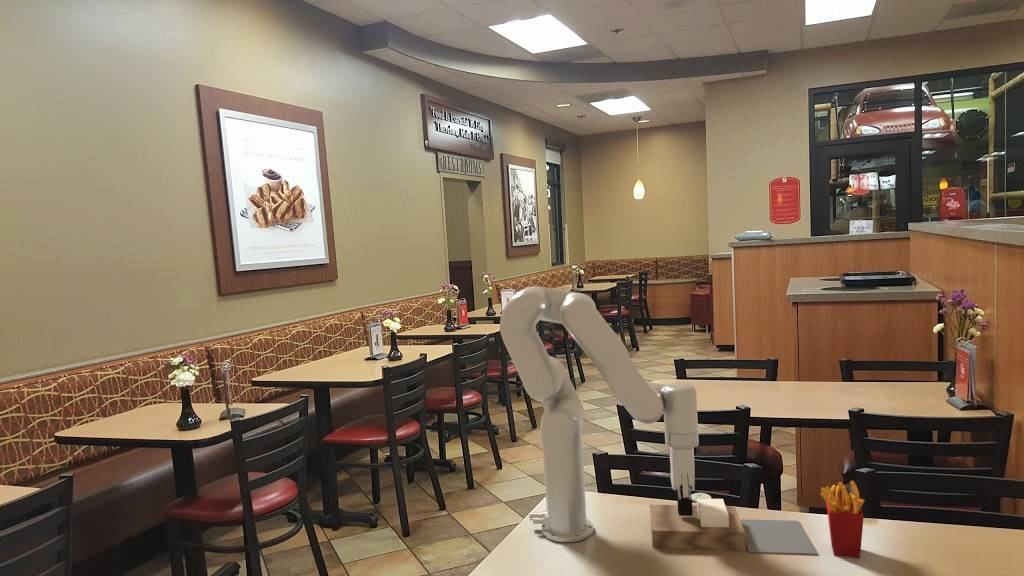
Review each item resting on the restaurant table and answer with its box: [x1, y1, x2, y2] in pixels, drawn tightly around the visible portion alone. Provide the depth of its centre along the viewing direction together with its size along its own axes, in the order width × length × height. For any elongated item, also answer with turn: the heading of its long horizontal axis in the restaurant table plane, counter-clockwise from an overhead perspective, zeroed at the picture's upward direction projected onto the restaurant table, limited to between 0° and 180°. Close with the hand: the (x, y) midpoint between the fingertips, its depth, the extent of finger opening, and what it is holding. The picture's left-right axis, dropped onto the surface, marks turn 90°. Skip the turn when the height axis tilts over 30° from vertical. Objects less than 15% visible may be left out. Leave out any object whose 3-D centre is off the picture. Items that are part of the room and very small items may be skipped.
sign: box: [691, 492, 712, 503], centre depth 162 cm, size 5×1×15 cm
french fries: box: [819, 480, 865, 559], centre depth 136 cm, size 9×8×15 cm
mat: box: [740, 518, 819, 556], centre depth 144 cm, size 14×16×1 cm
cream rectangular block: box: [696, 498, 729, 527], centre depth 146 cm, size 6×9×3 cm, turn 169°
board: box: [649, 504, 747, 551], centre depth 147 cm, size 20×14×4 cm
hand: (685, 514), depth 147 cm, fingers closed
